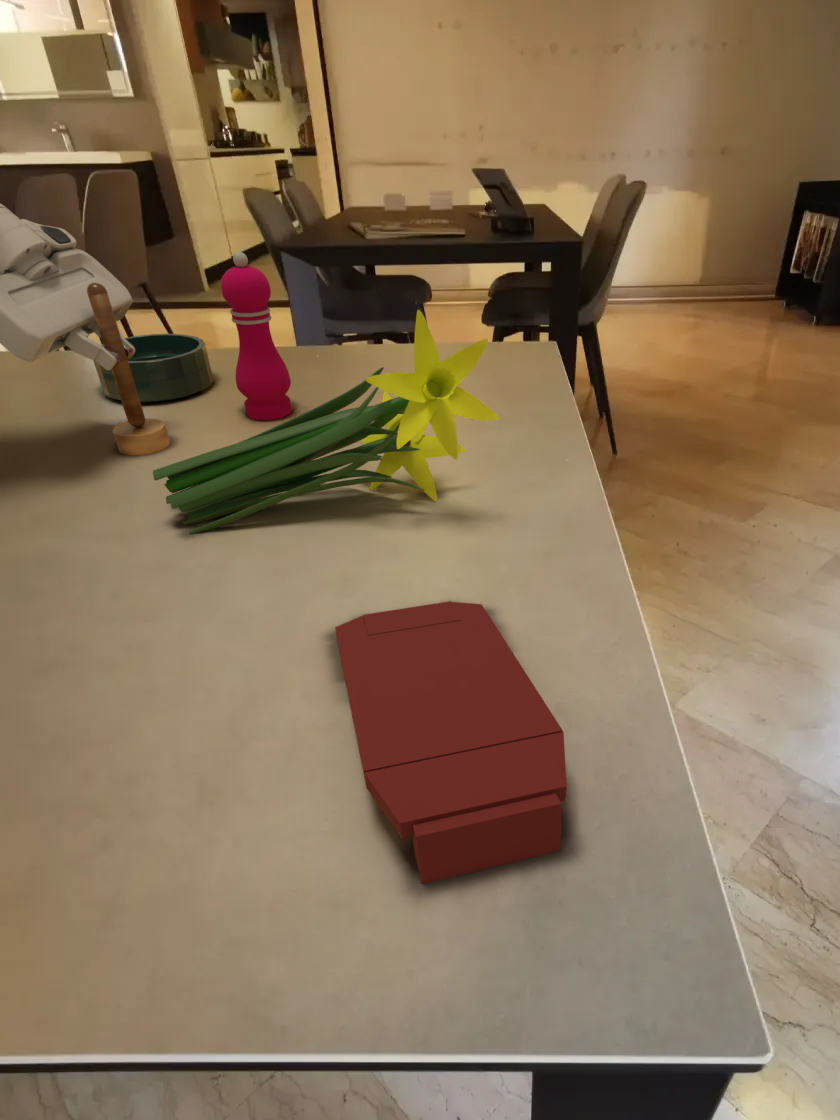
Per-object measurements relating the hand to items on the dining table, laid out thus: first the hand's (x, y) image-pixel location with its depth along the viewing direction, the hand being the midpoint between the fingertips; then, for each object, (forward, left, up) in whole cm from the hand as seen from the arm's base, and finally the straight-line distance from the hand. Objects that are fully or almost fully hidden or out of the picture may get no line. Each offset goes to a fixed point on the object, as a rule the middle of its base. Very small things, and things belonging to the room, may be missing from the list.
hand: (123, 360), depth 81 cm
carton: (+58, -24, -11) cm, 64 cm away
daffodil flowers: (+31, -2, -11) cm, 33 cm away
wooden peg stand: (-1, 0, -10) cm, 10 cm away
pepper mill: (+4, +18, -11) cm, 21 cm away
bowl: (-18, +18, -11) cm, 28 cm away
